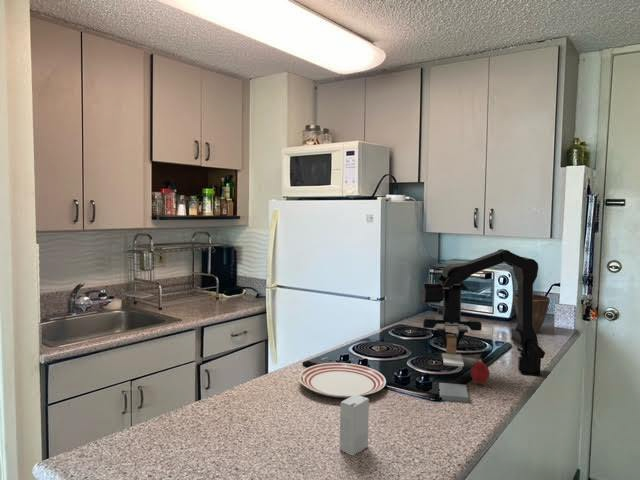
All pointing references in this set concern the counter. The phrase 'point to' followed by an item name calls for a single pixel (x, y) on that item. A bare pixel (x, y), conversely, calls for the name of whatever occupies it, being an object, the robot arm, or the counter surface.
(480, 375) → the onion
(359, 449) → the skincare box
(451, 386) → the tile
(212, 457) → the counter surface
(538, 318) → the plant pot
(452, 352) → the turner
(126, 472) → the counter surface
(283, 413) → the counter surface
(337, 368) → the dinner plate
